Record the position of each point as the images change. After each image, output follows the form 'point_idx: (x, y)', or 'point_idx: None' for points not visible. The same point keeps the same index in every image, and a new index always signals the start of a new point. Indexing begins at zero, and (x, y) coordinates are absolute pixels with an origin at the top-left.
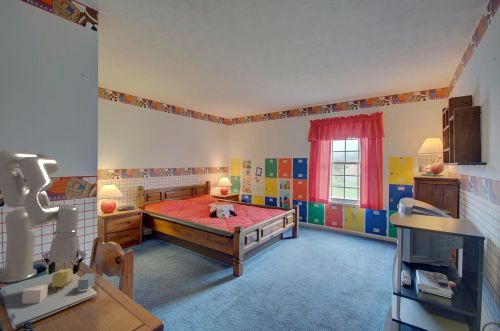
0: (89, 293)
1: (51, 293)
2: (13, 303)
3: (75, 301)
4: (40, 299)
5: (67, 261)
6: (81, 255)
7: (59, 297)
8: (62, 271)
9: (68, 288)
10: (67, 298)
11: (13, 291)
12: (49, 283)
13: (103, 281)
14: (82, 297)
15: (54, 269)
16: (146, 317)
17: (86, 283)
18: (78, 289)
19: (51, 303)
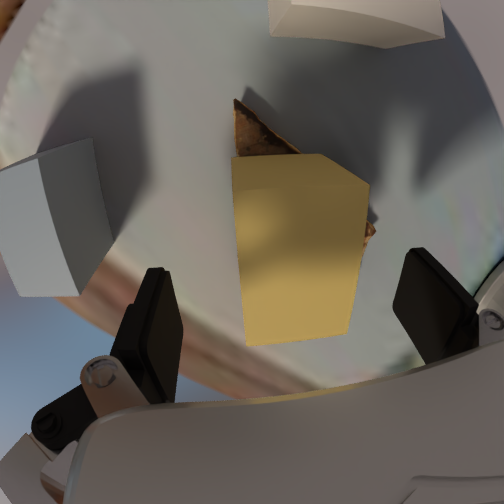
0: (12, 131)
1: (276, 92)
2: None
3: (36, 28)
4: None
5: (209, 405)
6: (35, 488)
7: (166, 37)
8: (308, 292)
9: (192, 177)
10: (99, 37)
11: (494, 159)
12: (374, 232)
13: None
14: (22, 77)
15: (404, 316)
16: None
17: (7, 167)
18: (78, 141)
19: None
